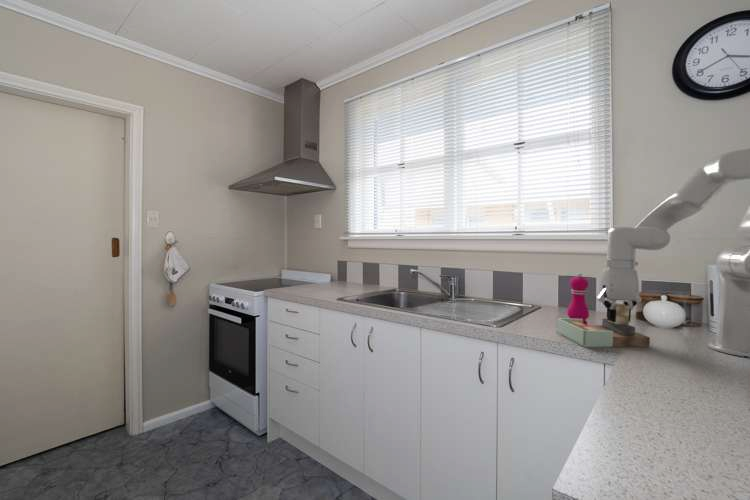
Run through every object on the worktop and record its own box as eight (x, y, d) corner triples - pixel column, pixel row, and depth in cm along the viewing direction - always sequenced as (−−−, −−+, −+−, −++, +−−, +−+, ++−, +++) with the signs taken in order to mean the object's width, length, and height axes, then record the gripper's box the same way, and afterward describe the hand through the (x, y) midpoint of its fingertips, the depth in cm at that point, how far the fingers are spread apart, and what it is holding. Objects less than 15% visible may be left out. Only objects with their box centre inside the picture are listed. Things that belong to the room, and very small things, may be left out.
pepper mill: (592, 327, 129) (594, 274, 128) (573, 327, 129) (575, 273, 128) (581, 322, 136) (583, 272, 135) (563, 322, 136) (564, 271, 136)
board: (617, 334, 121) (618, 325, 121) (649, 347, 107) (649, 337, 107) (583, 333, 121) (583, 325, 121) (610, 346, 107) (610, 336, 107)
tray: (581, 332, 122) (582, 318, 122) (612, 347, 106) (613, 331, 106) (556, 332, 122) (556, 318, 122) (583, 347, 106) (584, 330, 106)
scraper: (612, 325, 119) (613, 301, 119) (636, 335, 108) (637, 308, 108) (600, 325, 119) (601, 301, 119) (623, 335, 108) (624, 308, 108)
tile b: (579, 322, 119) (571, 321, 119) (586, 325, 115) (578, 325, 115) (578, 333, 119) (571, 333, 119) (585, 337, 115) (578, 336, 115)
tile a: (590, 326, 113) (582, 326, 113) (598, 330, 109) (590, 330, 109) (590, 339, 113) (582, 338, 113) (597, 342, 109) (589, 342, 109)
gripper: (637, 264, 116) (635, 318, 117) (587, 263, 116) (585, 317, 117) (655, 266, 109) (653, 324, 110) (602, 265, 109) (600, 323, 110)
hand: (618, 320), depth 113 cm, fingers closed on scraper, 4 cm apart
